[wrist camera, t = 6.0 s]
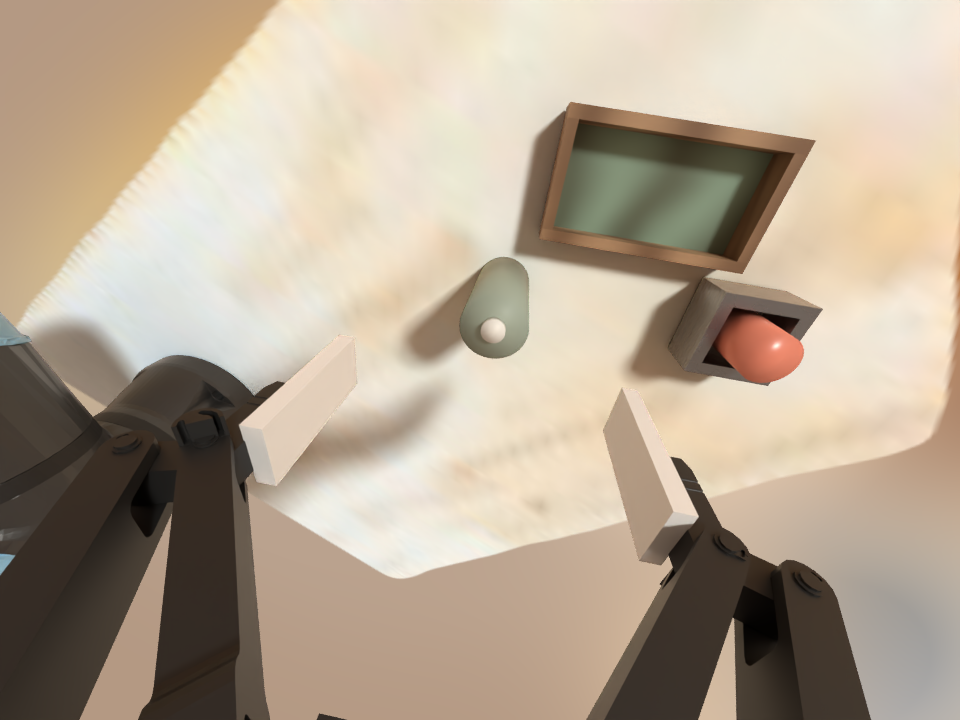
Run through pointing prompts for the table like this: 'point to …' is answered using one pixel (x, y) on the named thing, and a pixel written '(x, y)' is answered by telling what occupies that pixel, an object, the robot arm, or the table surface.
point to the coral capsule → (757, 347)
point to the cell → (497, 310)
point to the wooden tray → (667, 186)
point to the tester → (714, 309)
